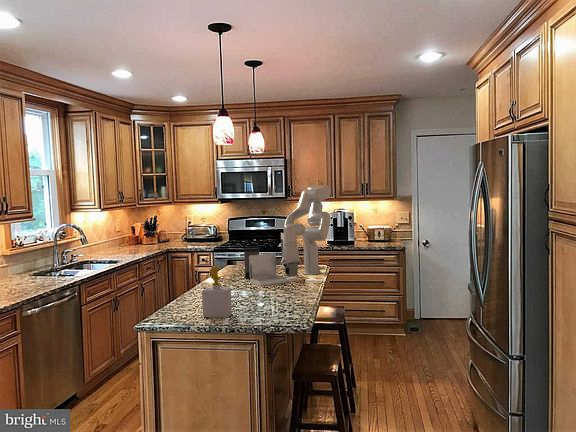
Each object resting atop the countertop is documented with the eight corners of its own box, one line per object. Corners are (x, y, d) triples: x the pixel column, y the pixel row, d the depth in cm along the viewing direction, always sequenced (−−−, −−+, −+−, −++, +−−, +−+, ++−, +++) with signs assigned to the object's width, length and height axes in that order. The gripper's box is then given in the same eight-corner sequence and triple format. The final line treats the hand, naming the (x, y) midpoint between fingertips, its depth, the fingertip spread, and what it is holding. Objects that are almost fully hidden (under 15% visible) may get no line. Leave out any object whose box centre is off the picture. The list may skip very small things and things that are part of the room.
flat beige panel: (293, 277, 316) (293, 276, 316) (303, 280, 306) (303, 279, 306) (280, 279, 312) (279, 278, 312) (289, 282, 301) (289, 281, 301)
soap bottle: (232, 314, 230) (230, 264, 228) (228, 318, 223) (226, 267, 222) (207, 314, 232) (205, 264, 230) (202, 317, 225) (200, 267, 224)
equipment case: (276, 279, 312) (275, 252, 311) (287, 283, 299) (286, 255, 298) (250, 283, 303) (249, 255, 302) (260, 286, 291) (259, 258, 290)
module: (292, 274, 313) (291, 261, 312) (297, 275, 307) (297, 263, 306) (285, 275, 310) (284, 262, 310) (290, 276, 304) (290, 263, 304)
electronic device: (260, 278, 319) (259, 247, 318) (259, 279, 313) (258, 248, 312) (246, 278, 320) (245, 247, 319) (244, 279, 314) (243, 248, 313)
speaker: (282, 266, 363) (281, 231, 361) (296, 266, 362) (295, 230, 360) (281, 268, 352) (280, 232, 351) (295, 268, 351) (294, 232, 350)
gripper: (299, 242, 315) (300, 271, 316) (275, 245, 307) (276, 274, 308) (305, 244, 308) (306, 272, 309) (281, 246, 300) (282, 275, 301)
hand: (291, 273), depth 308 cm, fingers closed on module, 4 cm apart
